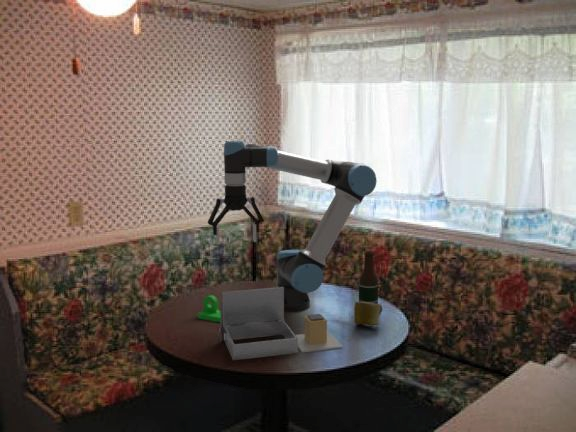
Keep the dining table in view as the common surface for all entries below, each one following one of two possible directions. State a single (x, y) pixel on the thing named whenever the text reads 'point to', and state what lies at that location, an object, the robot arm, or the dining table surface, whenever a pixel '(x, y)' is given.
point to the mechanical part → (210, 310)
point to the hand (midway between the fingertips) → (236, 242)
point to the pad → (306, 347)
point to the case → (255, 323)
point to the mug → (367, 313)
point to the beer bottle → (368, 281)
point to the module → (315, 329)
